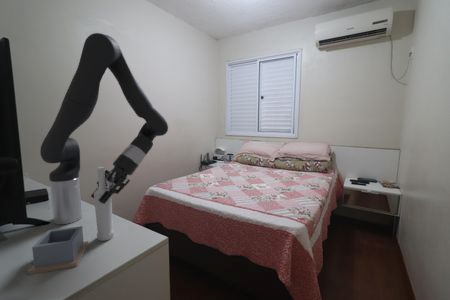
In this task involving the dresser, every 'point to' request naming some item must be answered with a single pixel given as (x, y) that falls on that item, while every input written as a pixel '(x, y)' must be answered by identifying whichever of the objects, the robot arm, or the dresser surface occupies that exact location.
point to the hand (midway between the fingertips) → (97, 200)
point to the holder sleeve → (58, 250)
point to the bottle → (103, 209)
